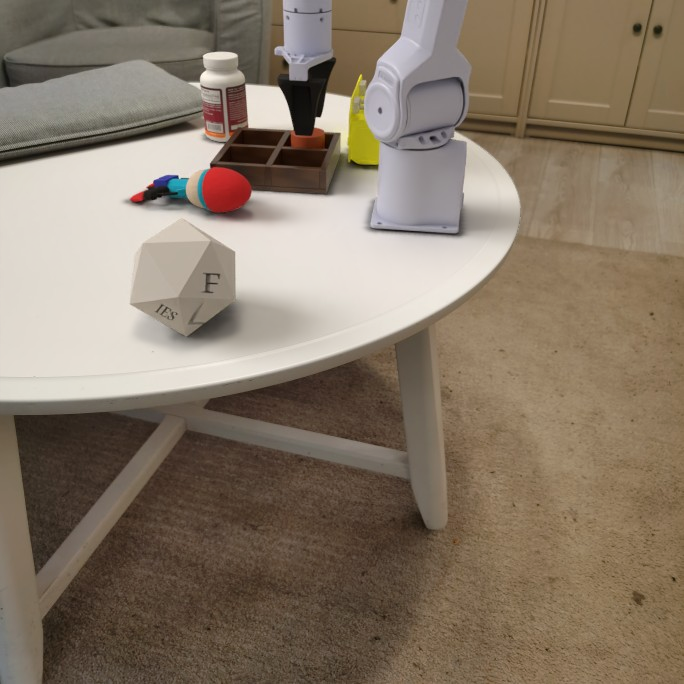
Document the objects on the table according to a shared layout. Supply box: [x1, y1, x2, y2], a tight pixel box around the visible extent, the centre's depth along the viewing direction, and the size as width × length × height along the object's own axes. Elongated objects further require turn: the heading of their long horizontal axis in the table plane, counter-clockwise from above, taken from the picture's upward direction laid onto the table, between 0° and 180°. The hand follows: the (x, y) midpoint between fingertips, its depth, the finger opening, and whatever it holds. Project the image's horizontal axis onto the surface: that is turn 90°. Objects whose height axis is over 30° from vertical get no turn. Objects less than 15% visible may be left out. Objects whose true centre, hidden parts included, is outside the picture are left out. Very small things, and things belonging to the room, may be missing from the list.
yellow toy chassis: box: [347, 74, 380, 166], centre depth 96 cm, size 16×6×8 cm, turn 173°
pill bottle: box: [199, 51, 250, 143], centre depth 99 cm, size 6×6×11 cm
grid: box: [209, 127, 342, 195], centre depth 90 cm, size 14×14×3 cm
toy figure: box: [129, 167, 253, 213], centre depth 80 cm, size 8×5×15 cm
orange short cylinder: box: [291, 126, 326, 149], centre depth 92 cm, size 4×4×3 cm
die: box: [129, 217, 237, 338], centre depth 59 cm, size 8×9×10 cm
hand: (308, 125), depth 91 cm, fingers open, 7 cm apart
